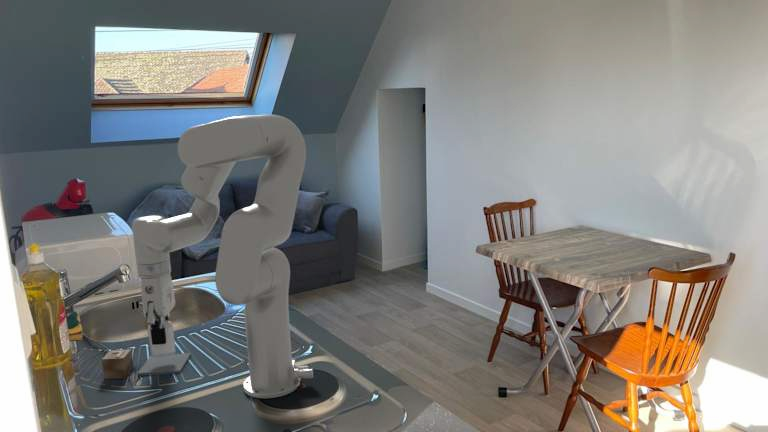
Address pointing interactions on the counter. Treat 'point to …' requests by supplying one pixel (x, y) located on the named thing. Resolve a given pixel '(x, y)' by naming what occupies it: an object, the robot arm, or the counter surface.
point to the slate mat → (164, 364)
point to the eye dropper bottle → (169, 346)
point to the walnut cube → (117, 364)
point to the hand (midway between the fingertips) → (162, 339)
